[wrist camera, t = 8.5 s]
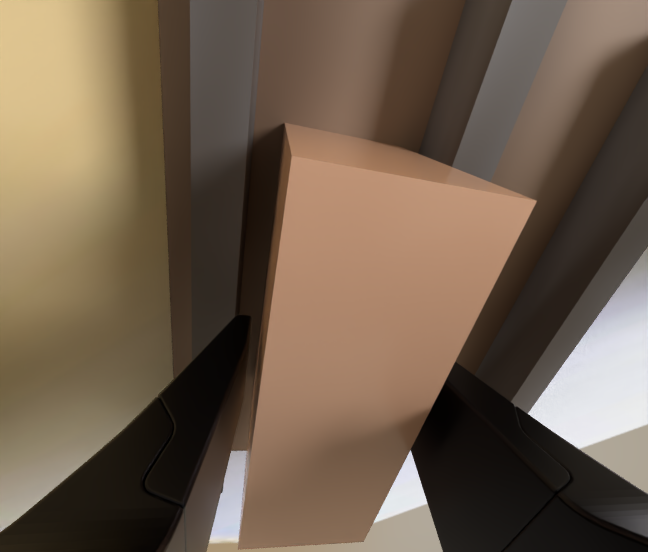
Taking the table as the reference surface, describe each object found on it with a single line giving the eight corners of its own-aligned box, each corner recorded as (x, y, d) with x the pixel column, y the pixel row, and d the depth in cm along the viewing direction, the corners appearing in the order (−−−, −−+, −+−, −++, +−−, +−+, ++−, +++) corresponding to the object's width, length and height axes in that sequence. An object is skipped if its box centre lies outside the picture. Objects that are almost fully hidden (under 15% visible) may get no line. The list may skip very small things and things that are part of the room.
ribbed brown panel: (711, 30, 10) (864, 6, 7) (463, 436, 19) (492, 489, 17) (162, -165, 7) (91, -329, 4) (181, 435, 16) (162, 501, 13)
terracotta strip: (398, 146, 10) (536, 201, 5) (332, 380, 14) (363, 541, 9) (284, 122, 9) (291, 155, 4) (253, 377, 14) (237, 549, 8)
